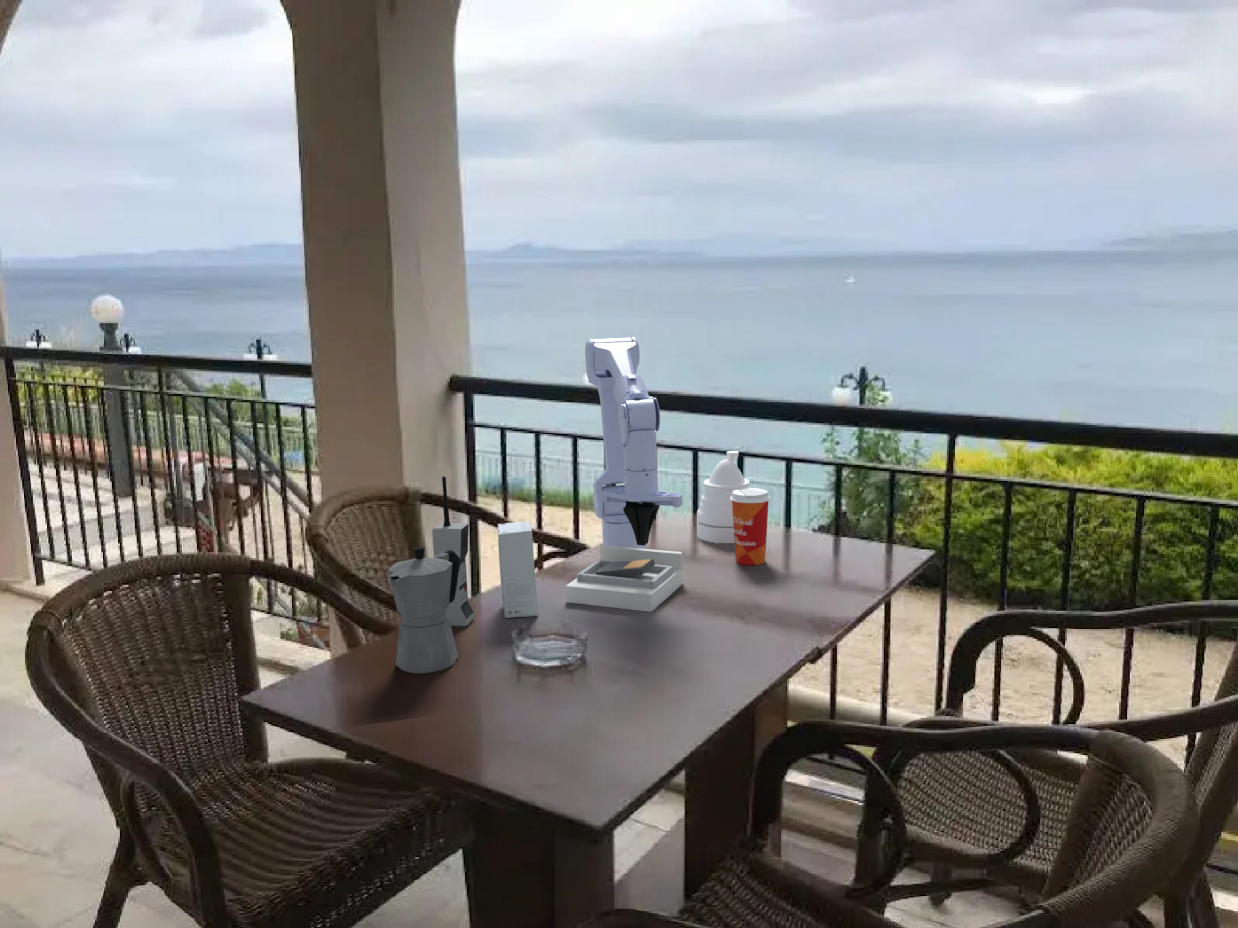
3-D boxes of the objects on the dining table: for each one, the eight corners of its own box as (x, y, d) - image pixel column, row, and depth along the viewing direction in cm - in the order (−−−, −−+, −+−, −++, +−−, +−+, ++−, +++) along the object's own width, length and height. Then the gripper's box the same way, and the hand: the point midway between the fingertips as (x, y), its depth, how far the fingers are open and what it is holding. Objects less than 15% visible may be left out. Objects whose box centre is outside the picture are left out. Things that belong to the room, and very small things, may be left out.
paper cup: (723, 559, 198) (722, 490, 196) (756, 553, 201) (756, 485, 199) (744, 569, 191) (744, 498, 189) (778, 563, 194) (778, 493, 192)
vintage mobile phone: (467, 627, 165) (457, 478, 160) (438, 626, 166) (428, 478, 161) (474, 619, 169) (465, 474, 164) (446, 618, 170) (437, 473, 165)
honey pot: (726, 524, 224) (725, 445, 221) (769, 535, 215) (769, 452, 211) (684, 536, 216) (683, 453, 213) (728, 547, 207) (727, 461, 203)
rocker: (609, 569, 184) (608, 562, 184) (655, 565, 180) (653, 558, 180) (596, 578, 178) (595, 571, 178) (642, 574, 175) (641, 567, 175)
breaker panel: (603, 575, 190) (602, 545, 189) (683, 583, 184) (682, 552, 183) (566, 602, 176) (564, 569, 175) (651, 611, 170) (650, 577, 169)
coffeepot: (422, 683, 143) (413, 562, 140) (373, 672, 148) (363, 554, 144) (487, 647, 156) (481, 535, 153) (440, 637, 161) (432, 529, 158)
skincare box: (538, 616, 169) (534, 531, 166) (502, 619, 169) (497, 533, 166) (535, 600, 177) (531, 519, 175) (501, 603, 177) (496, 521, 174)
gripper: (593, 470, 174) (595, 546, 176) (671, 475, 168) (673, 553, 170) (609, 462, 180) (611, 536, 182) (685, 466, 174) (687, 542, 177)
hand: (642, 543), depth 177 cm, fingers closed
